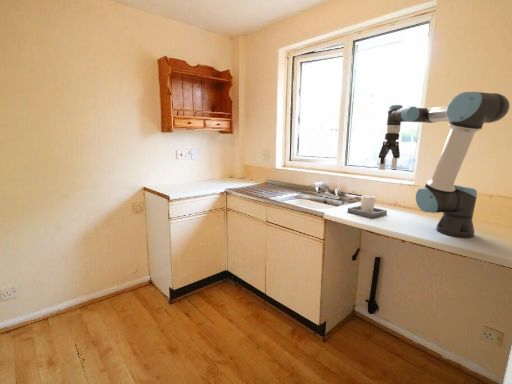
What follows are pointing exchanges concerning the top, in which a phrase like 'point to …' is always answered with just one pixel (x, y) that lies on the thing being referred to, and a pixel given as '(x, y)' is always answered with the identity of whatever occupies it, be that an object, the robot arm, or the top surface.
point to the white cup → (367, 203)
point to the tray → (358, 211)
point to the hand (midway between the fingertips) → (387, 169)
